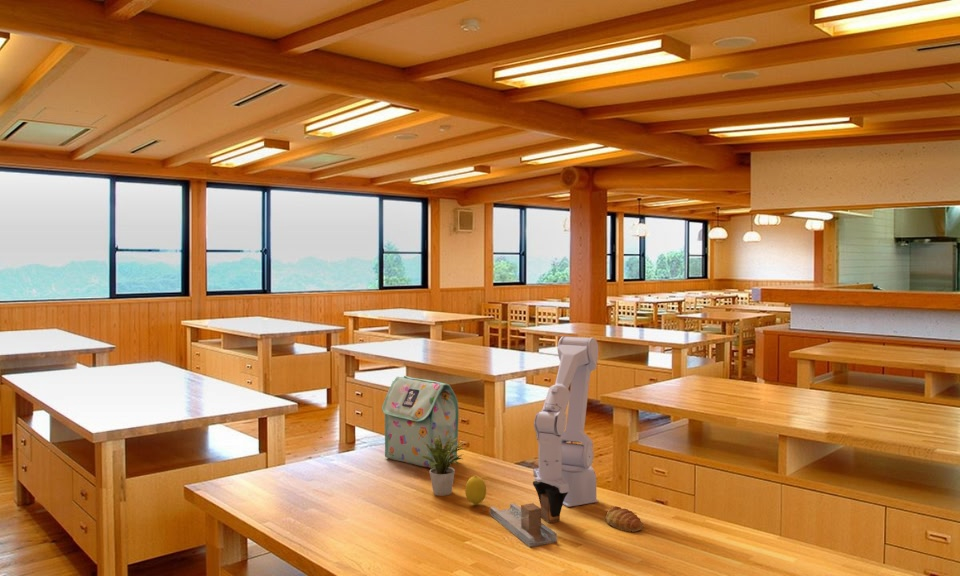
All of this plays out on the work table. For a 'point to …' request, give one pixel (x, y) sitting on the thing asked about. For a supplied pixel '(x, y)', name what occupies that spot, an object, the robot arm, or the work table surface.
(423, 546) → the work table surface
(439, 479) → the house plant
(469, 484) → the lemon
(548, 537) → the rail
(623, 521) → the pastry
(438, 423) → the lunch bag
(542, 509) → the brown rectangular block
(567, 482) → the robot arm
